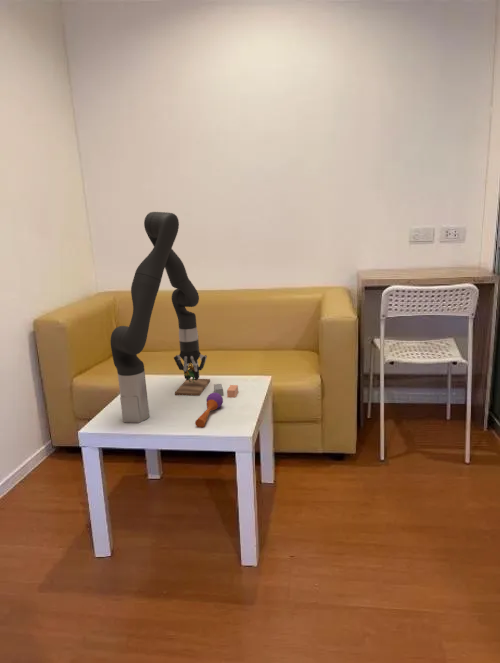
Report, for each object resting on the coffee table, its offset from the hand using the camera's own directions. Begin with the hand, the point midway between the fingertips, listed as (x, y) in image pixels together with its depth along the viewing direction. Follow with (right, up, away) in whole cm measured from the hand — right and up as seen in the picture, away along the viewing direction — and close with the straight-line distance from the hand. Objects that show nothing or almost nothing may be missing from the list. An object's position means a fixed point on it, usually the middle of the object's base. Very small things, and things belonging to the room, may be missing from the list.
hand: (192, 379), depth 210 cm
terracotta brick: (+17, -5, -8) cm, 19 cm away
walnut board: (0, -4, +1) cm, 4 cm away
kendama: (+9, -11, -27) cm, 30 cm away
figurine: (0, -1, 0) cm, 1 cm away
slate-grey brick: (+11, -5, -6) cm, 14 cm away
